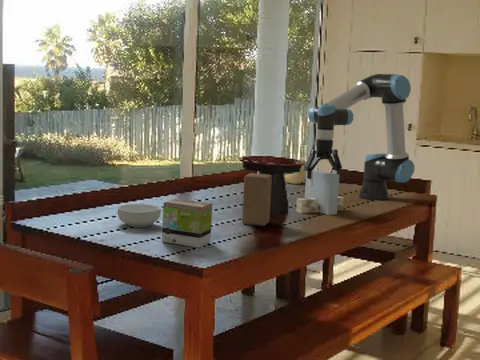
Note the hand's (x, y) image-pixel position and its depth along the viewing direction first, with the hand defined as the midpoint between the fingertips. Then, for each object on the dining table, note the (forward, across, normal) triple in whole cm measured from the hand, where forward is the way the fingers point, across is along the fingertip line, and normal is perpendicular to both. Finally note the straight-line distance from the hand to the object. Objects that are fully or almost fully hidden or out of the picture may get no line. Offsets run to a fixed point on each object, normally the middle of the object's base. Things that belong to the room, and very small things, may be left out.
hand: (322, 185), depth 335 cm
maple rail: (+12, 0, 0) cm, 12 cm away
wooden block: (+11, +45, +14) cm, 48 cm away
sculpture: (+13, -38, -74) cm, 84 cm away
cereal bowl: (+11, +92, +3) cm, 93 cm away
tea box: (+11, +88, +36) cm, 95 cm away
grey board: (+12, 0, 0) cm, 12 cm away
